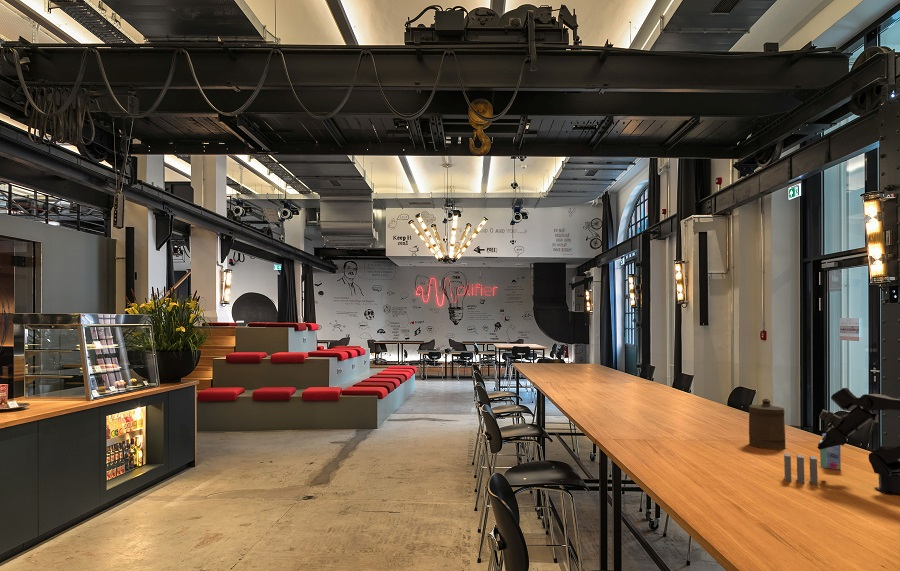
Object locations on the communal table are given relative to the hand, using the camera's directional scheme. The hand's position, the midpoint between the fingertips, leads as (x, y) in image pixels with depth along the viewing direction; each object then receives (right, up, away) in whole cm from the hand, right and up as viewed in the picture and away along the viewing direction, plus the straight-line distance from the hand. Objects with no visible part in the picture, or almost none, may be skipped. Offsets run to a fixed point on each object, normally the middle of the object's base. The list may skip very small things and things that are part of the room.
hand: (818, 447), depth 204 cm
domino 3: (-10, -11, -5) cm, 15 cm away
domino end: (-13, -11, -3) cm, 17 cm away
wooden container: (+11, -15, +53) cm, 56 cm away
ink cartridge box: (+17, -13, +17) cm, 27 cm away
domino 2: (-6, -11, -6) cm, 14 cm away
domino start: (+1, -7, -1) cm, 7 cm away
